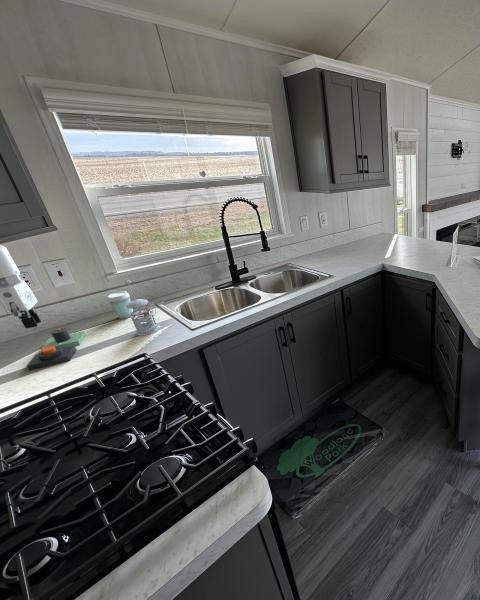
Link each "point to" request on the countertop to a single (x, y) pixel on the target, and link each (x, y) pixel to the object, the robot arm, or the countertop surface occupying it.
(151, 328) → the french press
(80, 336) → the dial panel
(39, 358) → the kettle base
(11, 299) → the robot arm
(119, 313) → the coffee cup
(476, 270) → the countertop surface
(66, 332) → the temp dial
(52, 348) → the button
